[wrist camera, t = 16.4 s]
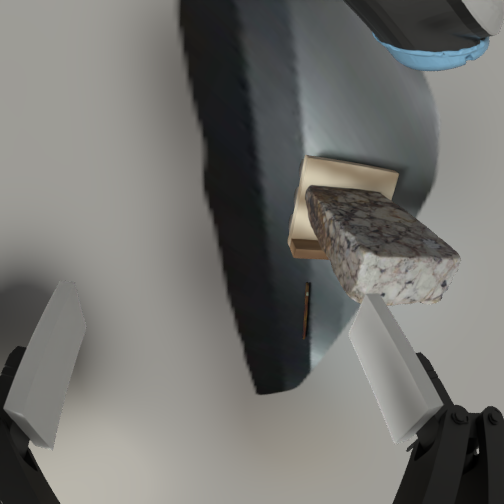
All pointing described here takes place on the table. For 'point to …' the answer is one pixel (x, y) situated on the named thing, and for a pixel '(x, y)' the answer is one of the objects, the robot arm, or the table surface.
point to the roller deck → (331, 176)
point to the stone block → (379, 246)
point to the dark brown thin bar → (305, 309)
